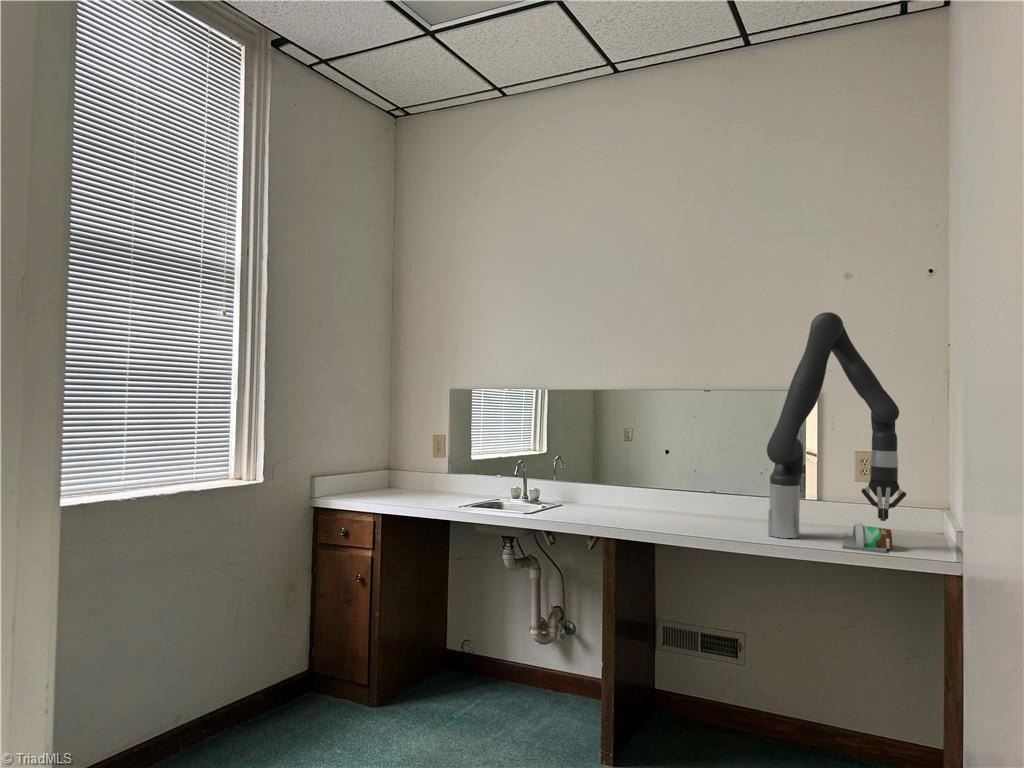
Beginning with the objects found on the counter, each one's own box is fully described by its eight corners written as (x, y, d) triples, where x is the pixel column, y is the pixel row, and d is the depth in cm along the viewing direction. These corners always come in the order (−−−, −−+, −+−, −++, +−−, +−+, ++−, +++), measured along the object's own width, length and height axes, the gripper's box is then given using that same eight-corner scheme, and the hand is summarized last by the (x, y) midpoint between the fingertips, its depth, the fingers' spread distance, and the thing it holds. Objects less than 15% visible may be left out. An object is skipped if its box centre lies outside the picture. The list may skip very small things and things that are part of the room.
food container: (893, 529, 213) (856, 526, 216) (893, 550, 213) (856, 546, 216) (888, 522, 224) (853, 519, 228) (887, 541, 224) (852, 538, 228)
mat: (842, 548, 218) (842, 545, 218) (845, 538, 232) (845, 535, 232) (886, 553, 212) (886, 550, 212) (886, 542, 226) (886, 540, 226)
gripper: (859, 464, 219) (858, 520, 220) (908, 467, 213) (907, 525, 213) (860, 462, 226) (859, 516, 226) (908, 465, 220) (907, 520, 220)
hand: (883, 520), depth 220 cm, fingers closed
